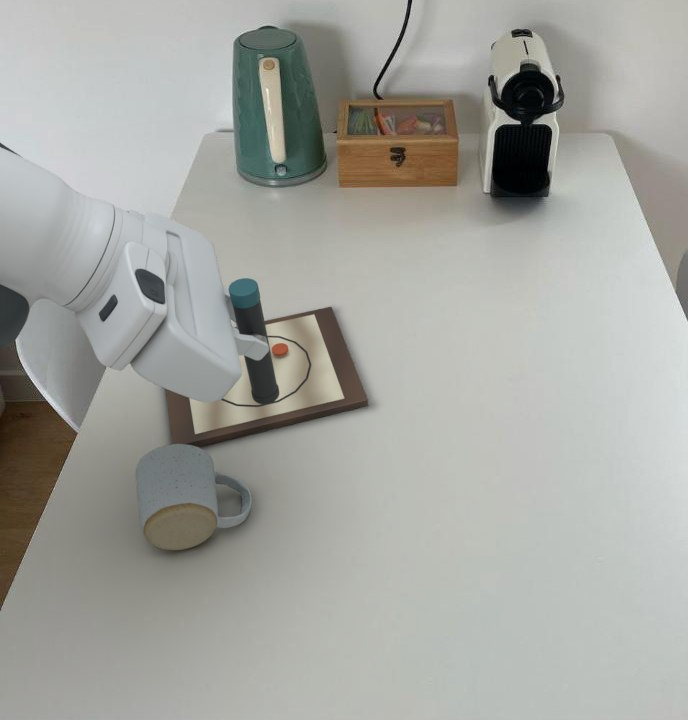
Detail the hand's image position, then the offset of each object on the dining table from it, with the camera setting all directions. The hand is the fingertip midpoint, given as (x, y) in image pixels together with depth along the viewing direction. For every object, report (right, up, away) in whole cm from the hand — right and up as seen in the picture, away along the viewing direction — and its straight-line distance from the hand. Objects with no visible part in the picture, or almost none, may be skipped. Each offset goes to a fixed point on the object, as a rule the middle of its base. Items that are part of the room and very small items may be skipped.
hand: (260, 336), depth 73 cm
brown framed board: (-4, -4, +25) cm, 25 cm away
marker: (0, -5, +5) cm, 7 cm away
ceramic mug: (-8, -18, +10) cm, 22 cm away
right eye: (-2, -1, +25) cm, 26 cm away
